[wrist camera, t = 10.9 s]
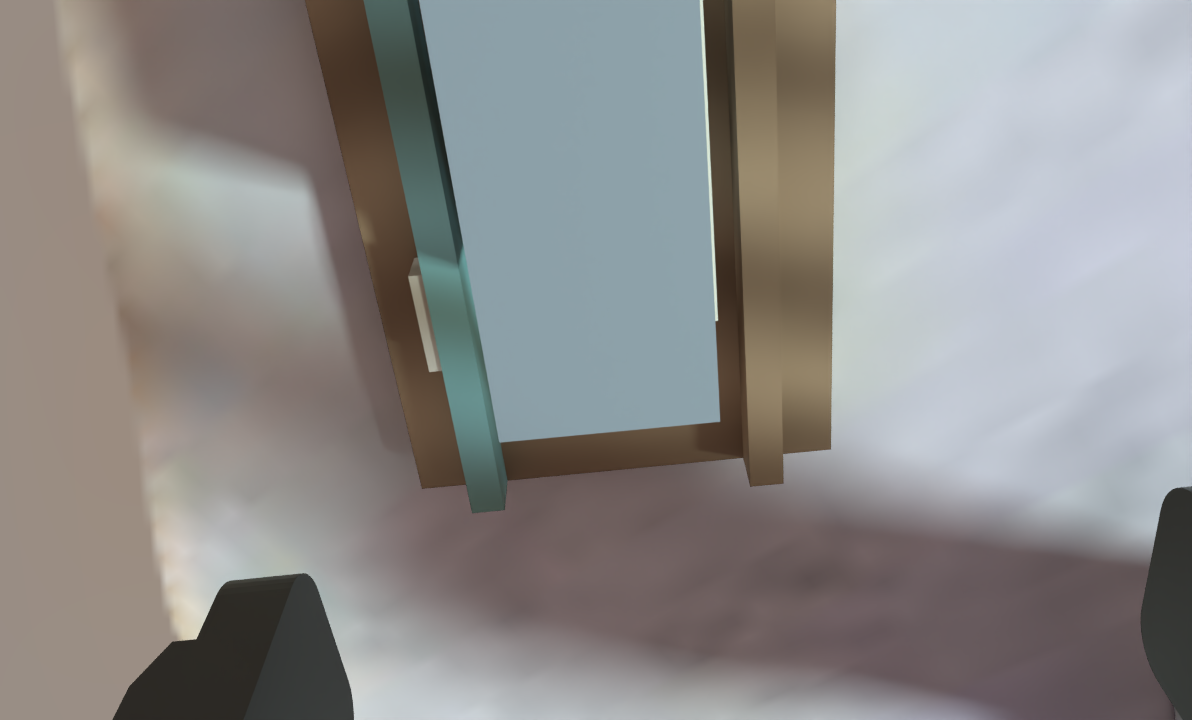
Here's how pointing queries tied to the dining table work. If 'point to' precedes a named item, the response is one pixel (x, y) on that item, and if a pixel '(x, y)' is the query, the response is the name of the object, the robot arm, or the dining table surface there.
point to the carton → (583, 207)
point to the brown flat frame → (741, 239)
